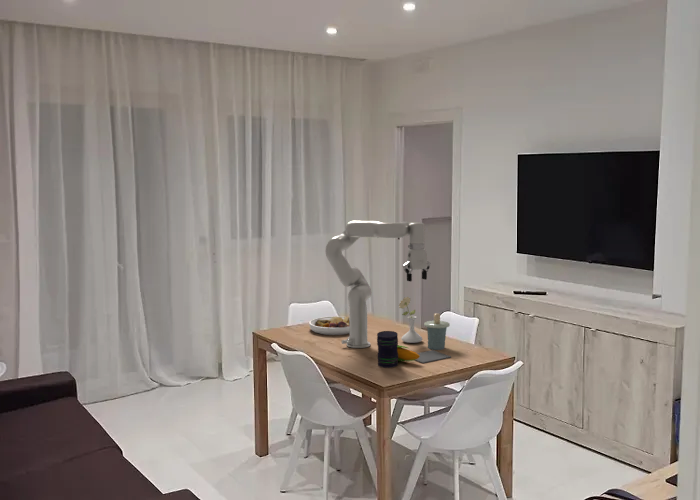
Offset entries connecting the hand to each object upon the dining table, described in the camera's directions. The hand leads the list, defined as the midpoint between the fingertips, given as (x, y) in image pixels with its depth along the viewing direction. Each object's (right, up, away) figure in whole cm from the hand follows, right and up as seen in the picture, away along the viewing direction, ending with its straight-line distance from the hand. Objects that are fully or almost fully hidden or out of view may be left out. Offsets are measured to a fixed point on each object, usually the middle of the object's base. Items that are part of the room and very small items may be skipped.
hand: (416, 280), depth 338 cm
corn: (-10, -39, -17) cm, 43 cm away
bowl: (-43, -32, +49) cm, 72 cm away
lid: (+11, -24, +6) cm, 27 cm away
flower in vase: (-1, -34, +20) cm, 40 cm away
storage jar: (-16, -39, -22) cm, 48 cm away
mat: (+4, -38, -10) cm, 39 cm away
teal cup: (+11, -36, +8) cm, 38 cm away
